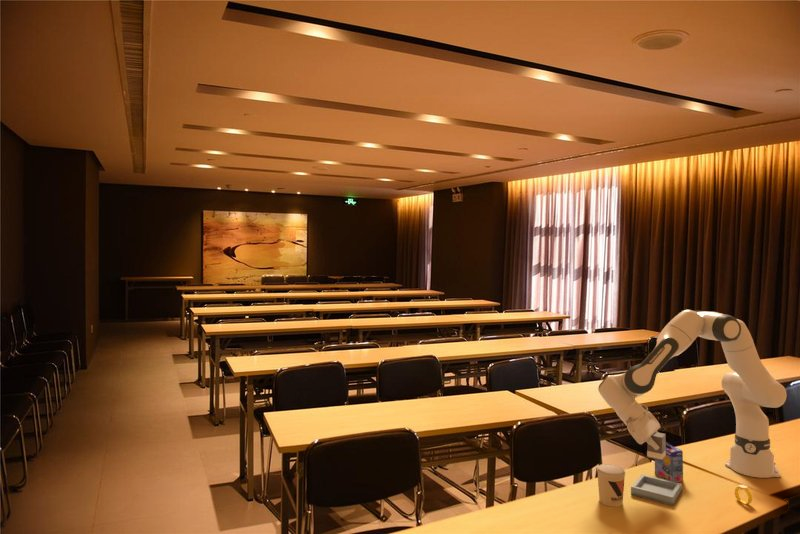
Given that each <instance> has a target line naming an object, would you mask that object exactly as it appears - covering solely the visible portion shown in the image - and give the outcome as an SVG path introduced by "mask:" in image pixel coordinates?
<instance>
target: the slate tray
mask: <svg viewBox="0 0 800 534" xmlns="http://www.w3.org/2000/svg"><path fill="white" fill-rule="evenodd" d="M682 487H683V485H682V483H681V482H672V481H668V480H666V479H664V478H660V477H659V478H658V477H653V476H651V475H646V474H641V475H640V476H639V477H638V478H637V479H636V481H635V482H634V483H632V485H631V486H630V495H631V496H634V497H638V498H642V499H646V500H650V501H653V502H656V503H661V504H665V505H668V506H674V504H675V503H676V502H677V500H678V498H679V497H680V495H681V493H682V490H683V489H682Z"/></svg>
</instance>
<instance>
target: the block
mask: <svg viewBox="0 0 800 534" xmlns="http://www.w3.org/2000/svg"><path fill="white" fill-rule="evenodd" d="M658 432H659V431H658ZM658 432H655V433H654V434H653V435H652V436H651V438H652V439H653V441H654V442H656V443H658V444H659V446H660V448H659V449H658V450H655V449H654V448H653V447H652V446H651V445H649V444H648V443H647V442H646V444H647V451H646V457H647V459H651V460H652V459H653V460H655V459H656V460H660V461H662V460H663V459H664V458H665V456H666V450H665V446H666V442H667V441H666V433H662V432H659V433H658Z"/></svg>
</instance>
